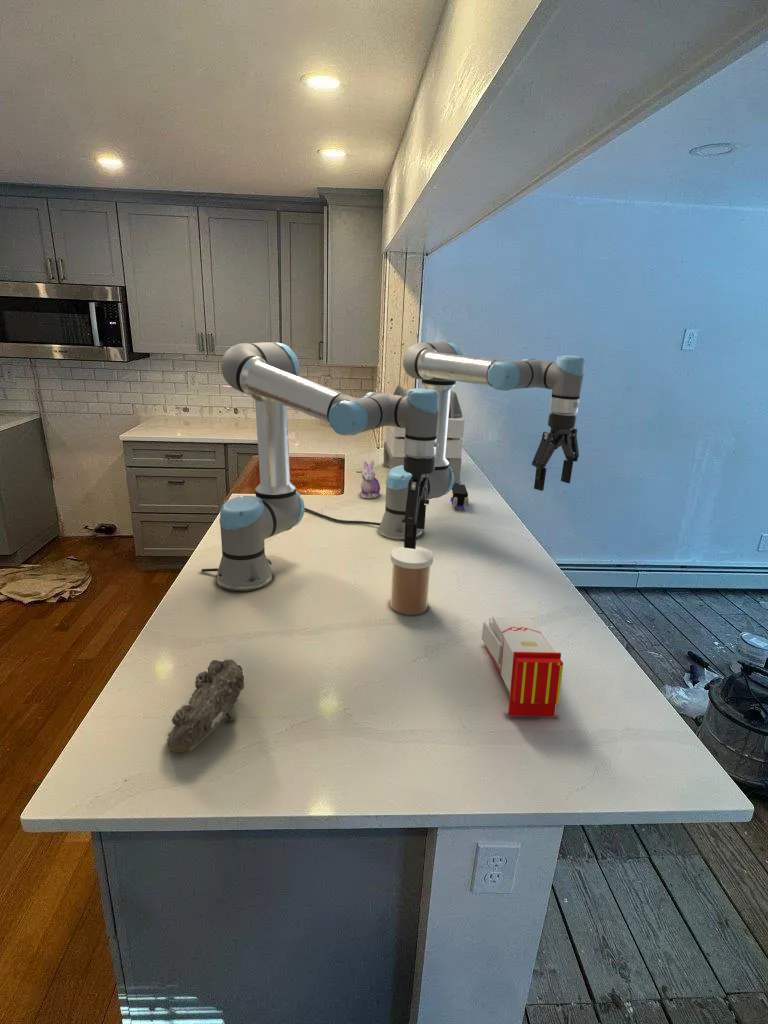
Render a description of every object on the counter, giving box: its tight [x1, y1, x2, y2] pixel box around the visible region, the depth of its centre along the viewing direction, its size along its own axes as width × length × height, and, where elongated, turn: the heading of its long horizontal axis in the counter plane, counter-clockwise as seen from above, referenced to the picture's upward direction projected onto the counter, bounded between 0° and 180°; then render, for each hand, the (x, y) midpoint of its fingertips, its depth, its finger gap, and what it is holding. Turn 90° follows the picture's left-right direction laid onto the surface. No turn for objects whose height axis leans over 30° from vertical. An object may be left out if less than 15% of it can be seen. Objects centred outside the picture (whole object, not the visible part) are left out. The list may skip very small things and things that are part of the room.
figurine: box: [360, 460, 381, 499], centre depth 236 cm, size 9×10×15 cm
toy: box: [481, 615, 564, 718], centre depth 123 cm, size 12×13×30 cm
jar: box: [389, 562, 431, 616], centre depth 149 cm, size 10×10×15 cm
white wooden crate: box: [383, 384, 465, 484], centre depth 268 cm, size 34×33×41 cm
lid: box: [390, 545, 434, 569], centre depth 147 cm, size 11×11×2 cm
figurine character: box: [449, 483, 470, 511], centre depth 230 cm, size 7×8×15 cm
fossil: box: [166, 658, 245, 754], centre depth 106 cm, size 22×10×15 cm
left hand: (414, 537), depth 142 cm, fingers open, 13 cm apart
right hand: (552, 485), depth 166 cm, fingers open, 13 cm apart
